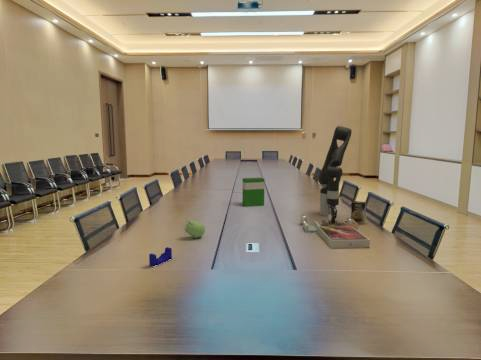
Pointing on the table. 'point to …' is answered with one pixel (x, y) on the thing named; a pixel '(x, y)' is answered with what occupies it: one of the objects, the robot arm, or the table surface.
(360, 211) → the coffee box
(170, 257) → the cable clip
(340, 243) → the product packaging
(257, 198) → the hardback book
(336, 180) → the robot arm
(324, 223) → the grey piece
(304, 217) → the cell
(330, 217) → the cell
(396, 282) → the table surface
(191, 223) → the green round fruit
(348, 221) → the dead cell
